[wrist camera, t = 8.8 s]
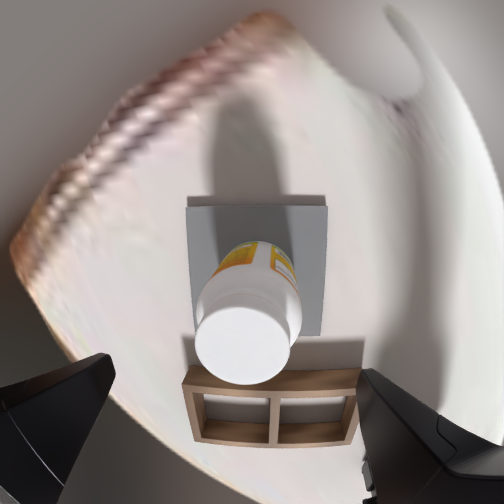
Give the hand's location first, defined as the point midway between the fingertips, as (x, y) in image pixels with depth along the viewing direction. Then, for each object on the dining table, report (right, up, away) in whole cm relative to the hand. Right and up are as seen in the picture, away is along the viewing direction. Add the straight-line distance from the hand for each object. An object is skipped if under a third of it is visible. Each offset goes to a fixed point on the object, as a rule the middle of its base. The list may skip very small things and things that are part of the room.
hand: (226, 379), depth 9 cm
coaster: (+1, +3, +12) cm, 13 cm away
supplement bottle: (+1, +3, +12) cm, 12 cm away
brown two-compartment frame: (+3, -10, +15) cm, 18 cm away
